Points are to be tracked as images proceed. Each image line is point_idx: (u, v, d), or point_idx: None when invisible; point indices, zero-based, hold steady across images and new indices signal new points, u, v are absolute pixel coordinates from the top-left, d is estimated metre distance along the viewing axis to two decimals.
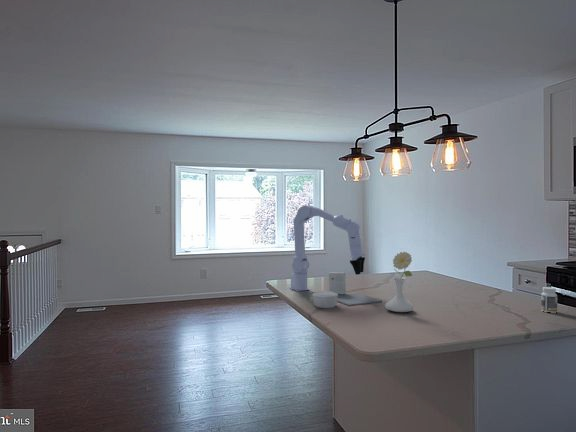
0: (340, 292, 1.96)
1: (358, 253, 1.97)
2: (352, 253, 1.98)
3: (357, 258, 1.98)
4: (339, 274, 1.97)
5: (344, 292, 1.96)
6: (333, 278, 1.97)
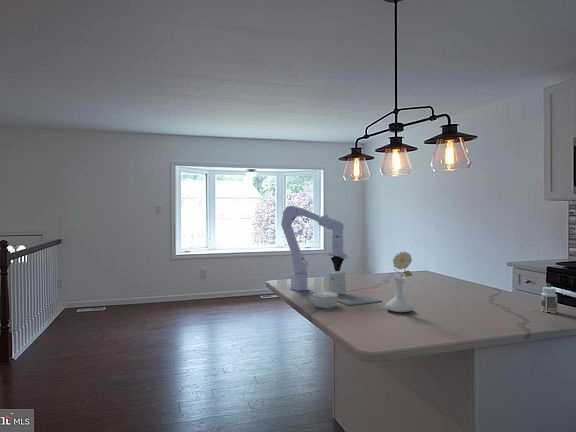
0: (340, 292, 1.96)
1: (342, 252, 2.06)
2: (337, 251, 2.05)
3: None
4: (339, 274, 1.97)
5: (344, 292, 1.96)
6: (333, 278, 1.97)
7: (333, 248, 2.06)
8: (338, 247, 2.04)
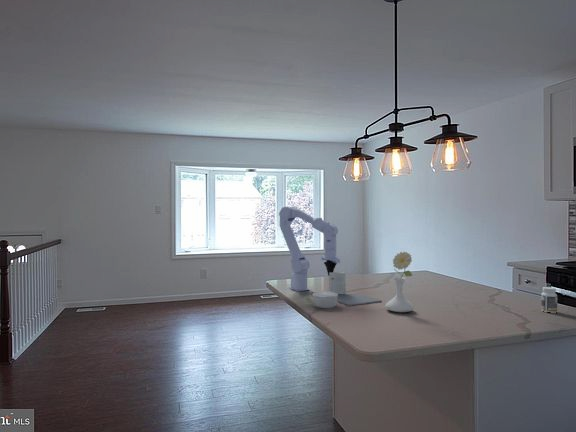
0: (340, 292, 1.96)
1: (335, 256, 2.02)
2: (330, 256, 2.01)
3: None
4: (339, 274, 1.97)
5: (344, 292, 1.96)
6: (333, 278, 1.97)
7: (326, 252, 2.02)
8: (331, 251, 2.01)
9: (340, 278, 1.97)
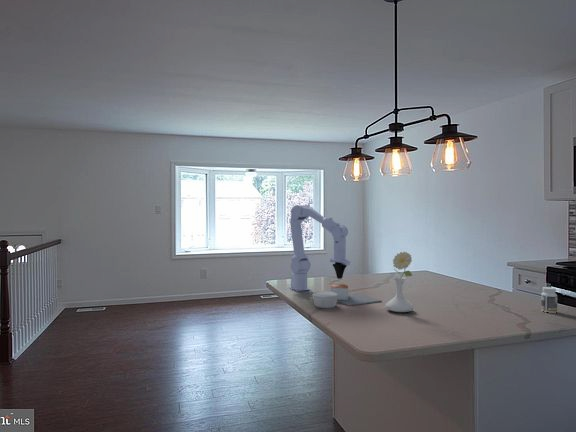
0: None
1: (344, 258, 1.95)
2: (339, 258, 1.94)
3: None
4: (341, 299, 1.85)
5: None
6: None
7: (335, 254, 1.95)
8: (340, 253, 1.94)
9: None
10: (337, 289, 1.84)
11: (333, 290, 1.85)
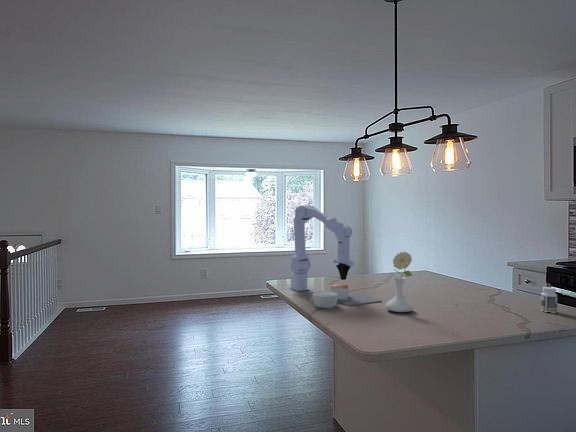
0: None
1: (348, 259, 1.92)
2: (343, 258, 1.91)
3: None
4: (341, 299, 1.85)
5: None
6: None
7: (339, 255, 1.92)
8: (344, 254, 1.91)
9: None
10: (337, 289, 1.84)
11: (333, 290, 1.85)
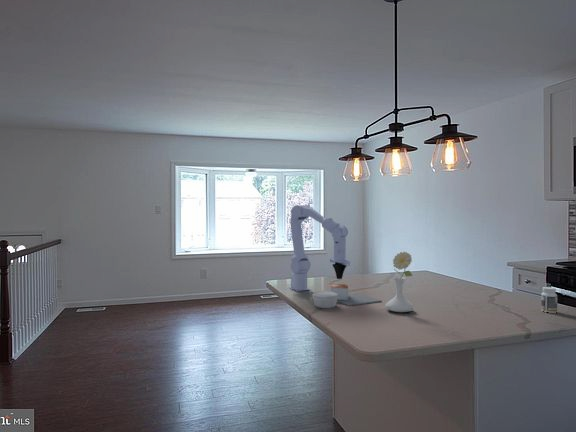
0: None
1: (344, 258, 1.95)
2: (339, 258, 1.94)
3: None
4: (341, 299, 1.85)
5: None
6: None
7: (335, 254, 1.95)
8: (340, 253, 1.94)
9: None
10: (337, 289, 1.84)
11: (333, 290, 1.85)
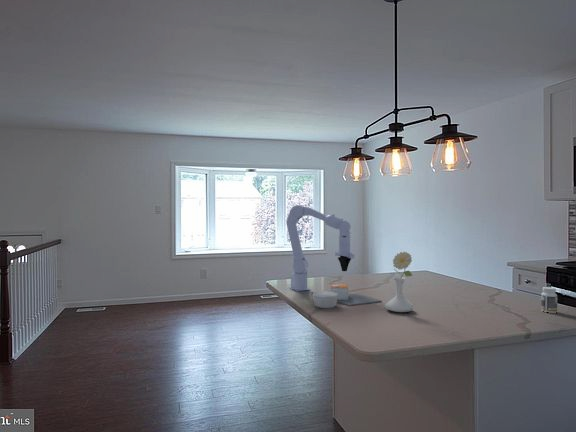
0: None
1: (349, 252, 2.05)
2: (344, 251, 2.04)
3: None
4: (341, 299, 1.85)
5: None
6: None
7: (340, 248, 2.05)
8: (345, 247, 2.04)
9: None
10: (337, 289, 1.84)
11: (333, 290, 1.85)
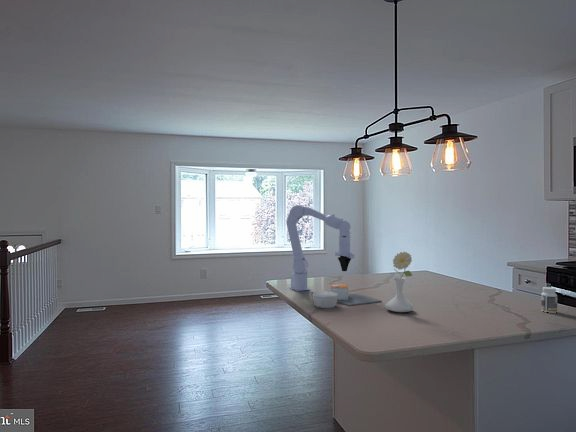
0: None
1: (349, 252, 2.05)
2: (344, 251, 2.04)
3: None
4: (341, 299, 1.85)
5: None
6: None
7: (340, 248, 2.05)
8: (345, 247, 2.04)
9: None
10: (337, 289, 1.84)
11: (333, 290, 1.85)
